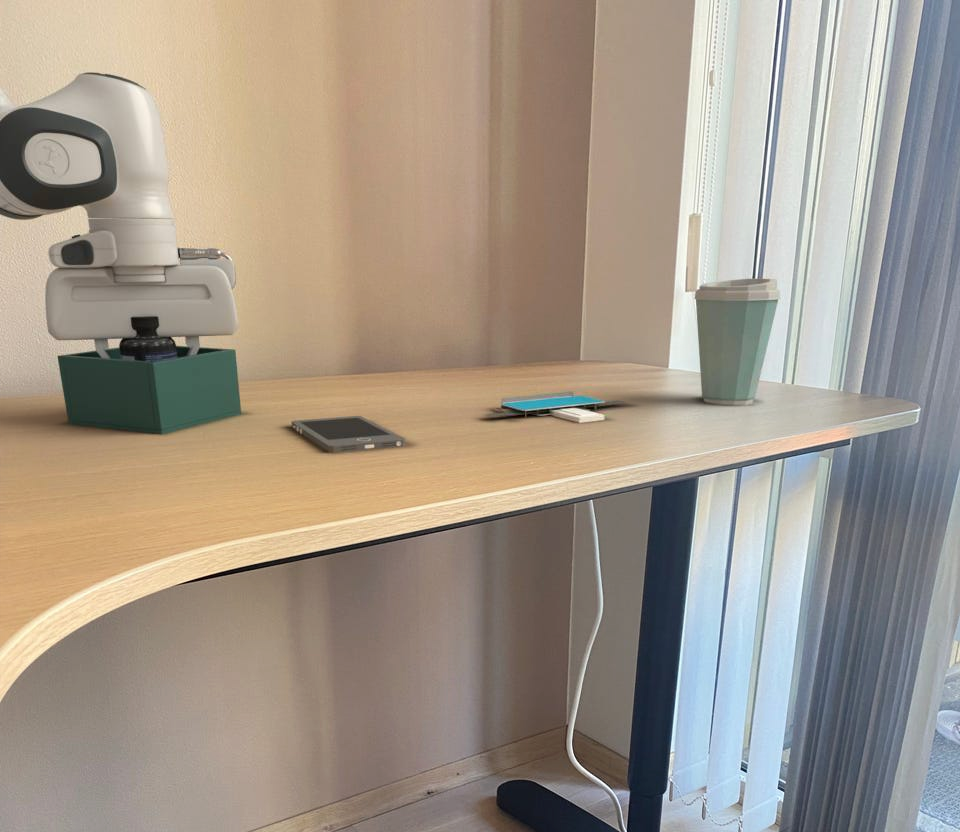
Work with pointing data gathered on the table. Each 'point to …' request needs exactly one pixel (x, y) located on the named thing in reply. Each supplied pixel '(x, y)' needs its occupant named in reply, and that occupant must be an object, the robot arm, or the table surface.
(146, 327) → the pill bottle
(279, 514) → the table surface
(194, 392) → the open box
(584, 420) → the teal tabletop platform
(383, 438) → the smartphone
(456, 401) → the table surface
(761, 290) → the disposable coffee cup
